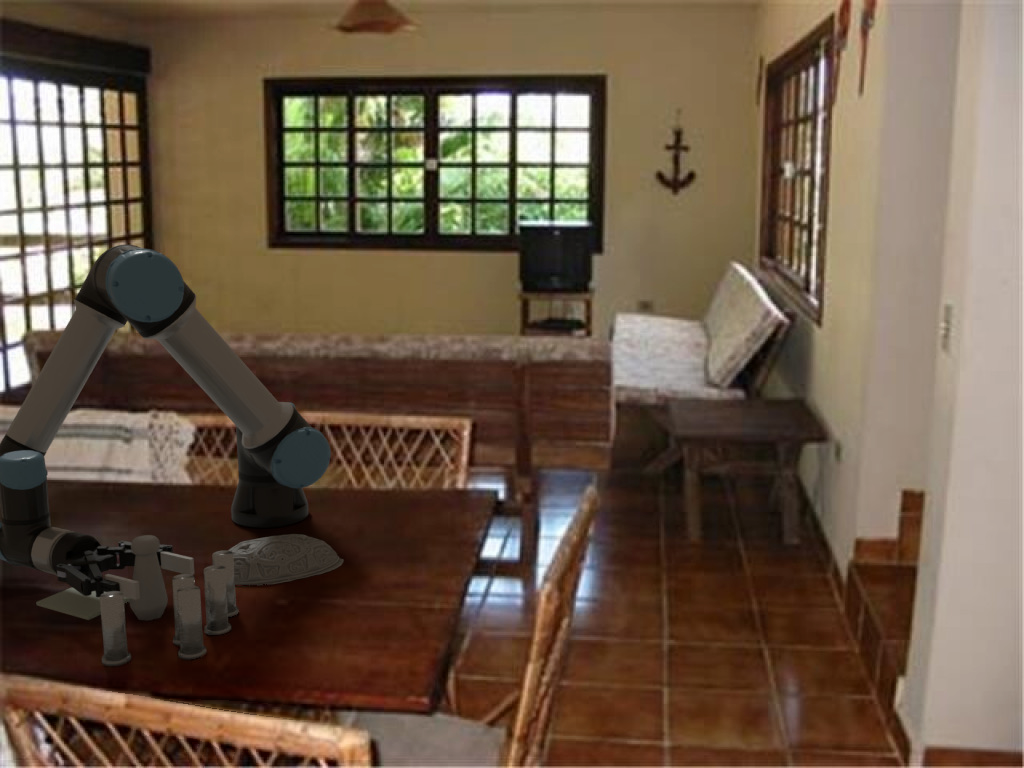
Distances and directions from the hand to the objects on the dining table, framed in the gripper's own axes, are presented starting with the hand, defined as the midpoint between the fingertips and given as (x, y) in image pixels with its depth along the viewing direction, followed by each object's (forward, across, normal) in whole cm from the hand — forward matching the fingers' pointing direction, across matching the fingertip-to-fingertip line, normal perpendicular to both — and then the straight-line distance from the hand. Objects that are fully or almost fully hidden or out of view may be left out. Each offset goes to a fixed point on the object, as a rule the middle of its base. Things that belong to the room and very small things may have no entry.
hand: (165, 578), depth 178 cm
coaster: (-17, 0, -7) cm, 18 cm away
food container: (-1, -26, -8) cm, 27 cm away
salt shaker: (-4, 0, -7) cm, 8 cm away
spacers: (+6, +4, -7) cm, 10 cm away
